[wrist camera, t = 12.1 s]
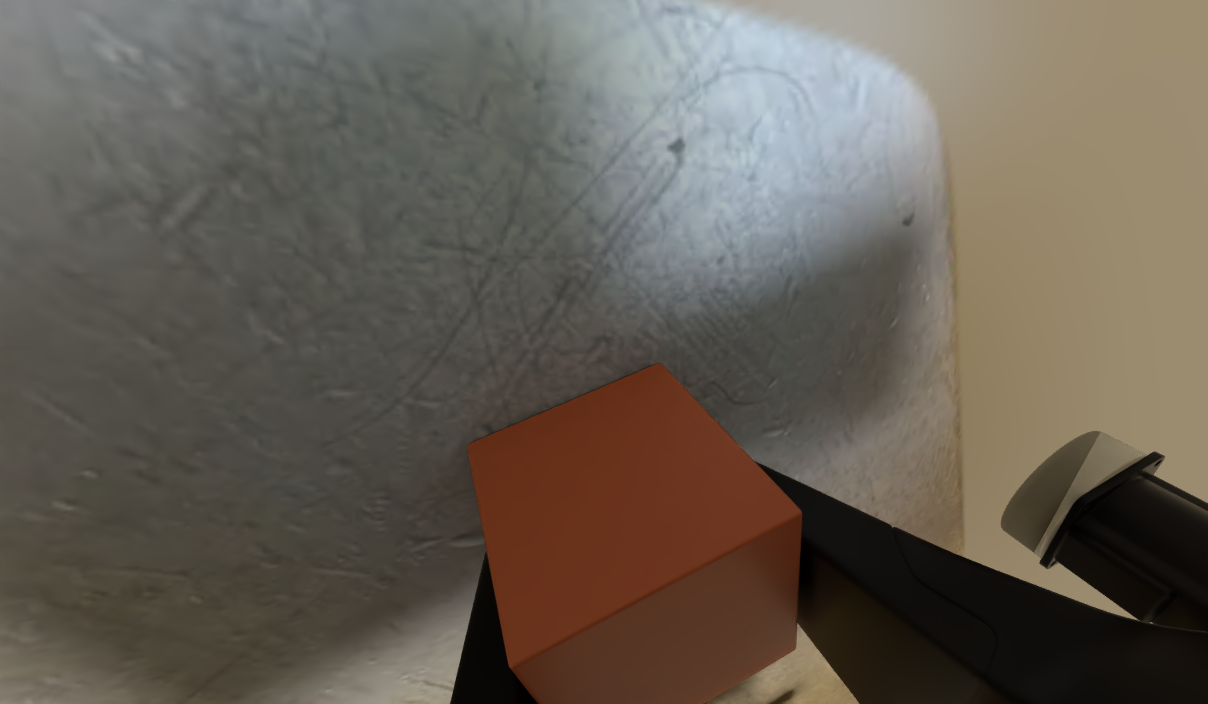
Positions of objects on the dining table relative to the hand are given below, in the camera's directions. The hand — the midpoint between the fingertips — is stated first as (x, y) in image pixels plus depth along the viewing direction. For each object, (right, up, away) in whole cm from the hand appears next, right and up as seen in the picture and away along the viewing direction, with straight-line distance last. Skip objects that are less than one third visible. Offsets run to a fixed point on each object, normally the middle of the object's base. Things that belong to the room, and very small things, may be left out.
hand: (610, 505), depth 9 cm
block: (0, 0, +1) cm, 1 cm away
